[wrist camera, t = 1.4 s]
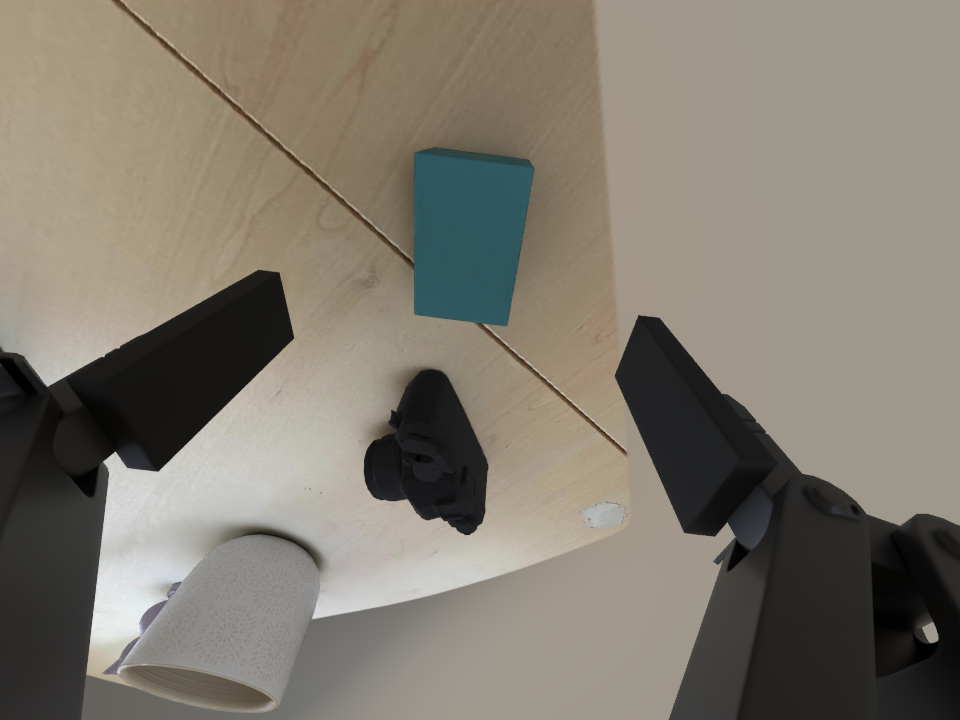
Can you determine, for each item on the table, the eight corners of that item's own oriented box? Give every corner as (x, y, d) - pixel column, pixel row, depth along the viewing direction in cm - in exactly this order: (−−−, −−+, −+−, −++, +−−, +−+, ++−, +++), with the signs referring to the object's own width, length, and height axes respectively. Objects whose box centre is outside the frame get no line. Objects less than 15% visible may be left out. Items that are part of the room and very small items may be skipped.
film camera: (351, 383, 32) (303, 460, 25) (448, 360, 30) (428, 437, 23) (416, 484, 40) (394, 566, 32) (497, 472, 38) (494, 557, 30)
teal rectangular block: (432, 147, 21) (413, 151, 17) (529, 159, 21) (534, 167, 17) (428, 285, 26) (413, 315, 22) (507, 295, 26) (507, 327, 22)
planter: (243, 502, 44) (137, 651, 32) (356, 556, 50) (304, 700, 38) (200, 548, 52) (101, 682, 39) (302, 590, 58) (245, 719, 45)
